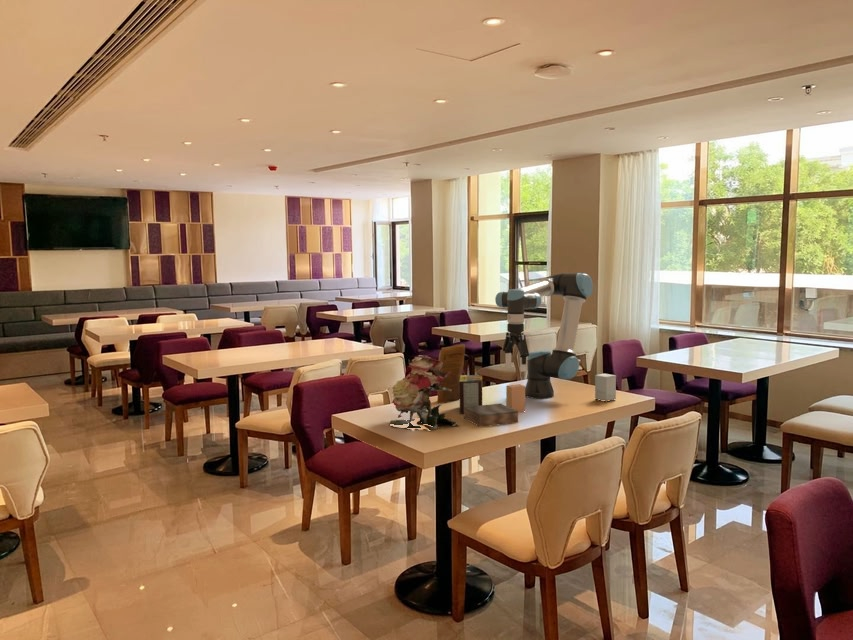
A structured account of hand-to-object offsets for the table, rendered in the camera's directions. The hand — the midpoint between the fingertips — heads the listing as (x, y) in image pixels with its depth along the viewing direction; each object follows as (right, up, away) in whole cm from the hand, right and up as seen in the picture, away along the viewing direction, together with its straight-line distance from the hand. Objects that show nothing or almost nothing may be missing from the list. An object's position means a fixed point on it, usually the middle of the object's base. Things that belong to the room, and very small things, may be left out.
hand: (515, 369), depth 289 cm
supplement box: (+48, -17, +23) cm, 56 cm away
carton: (0, -20, +2) cm, 20 cm away
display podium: (-13, -21, -14) cm, 28 cm away
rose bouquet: (-44, -22, -19) cm, 53 cm away
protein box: (-20, -20, +5) cm, 29 cm away
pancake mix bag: (-28, -18, +27) cm, 43 cm away
